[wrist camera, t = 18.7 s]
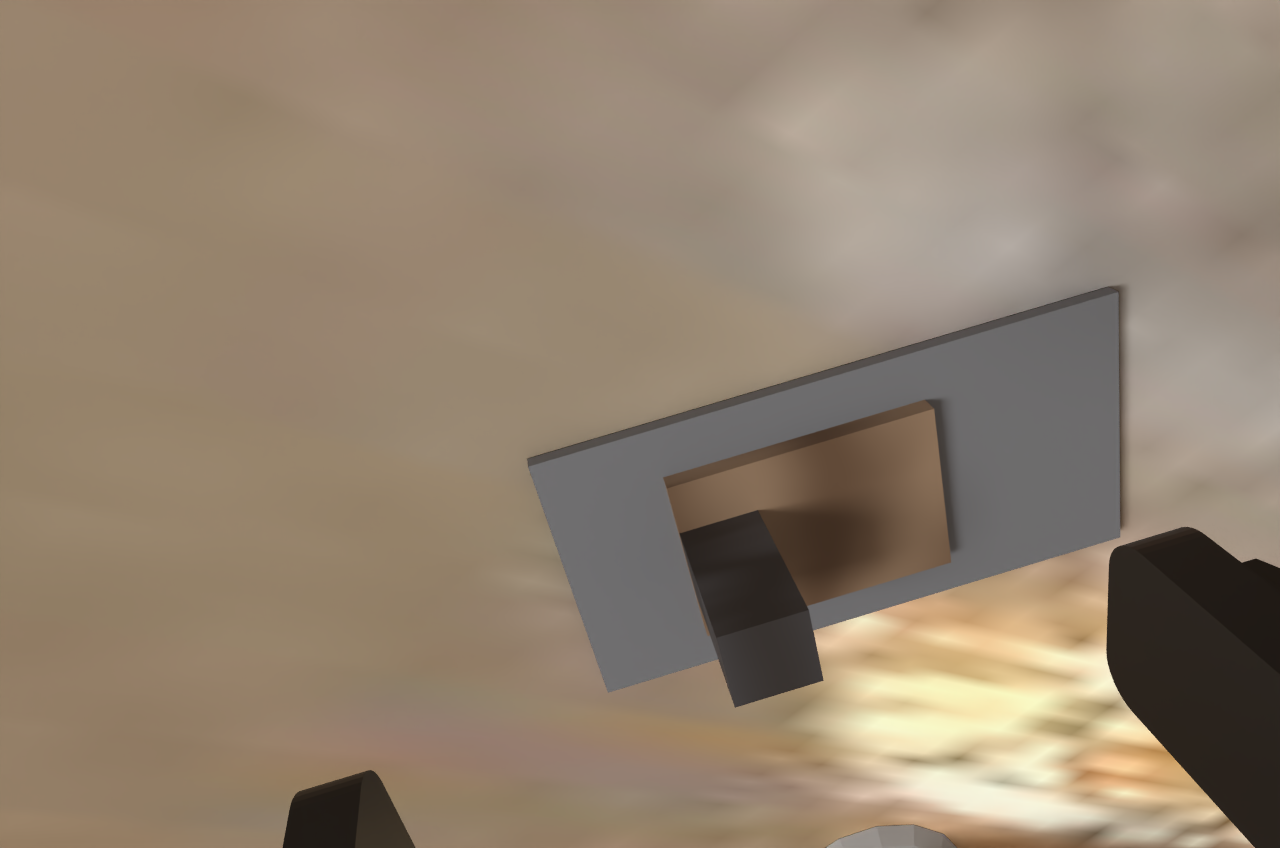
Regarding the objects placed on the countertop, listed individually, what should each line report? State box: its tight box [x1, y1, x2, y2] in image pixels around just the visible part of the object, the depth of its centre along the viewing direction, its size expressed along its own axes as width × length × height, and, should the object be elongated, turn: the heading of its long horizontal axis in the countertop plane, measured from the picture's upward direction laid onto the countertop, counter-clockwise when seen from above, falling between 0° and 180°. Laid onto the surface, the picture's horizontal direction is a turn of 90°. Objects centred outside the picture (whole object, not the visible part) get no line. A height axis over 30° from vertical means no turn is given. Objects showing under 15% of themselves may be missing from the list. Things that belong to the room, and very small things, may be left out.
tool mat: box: [527, 287, 1120, 692], centre depth 36 cm, size 22×11×1 cm, turn 104°
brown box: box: [663, 400, 951, 707], centre depth 33 cm, size 10×7×7 cm
